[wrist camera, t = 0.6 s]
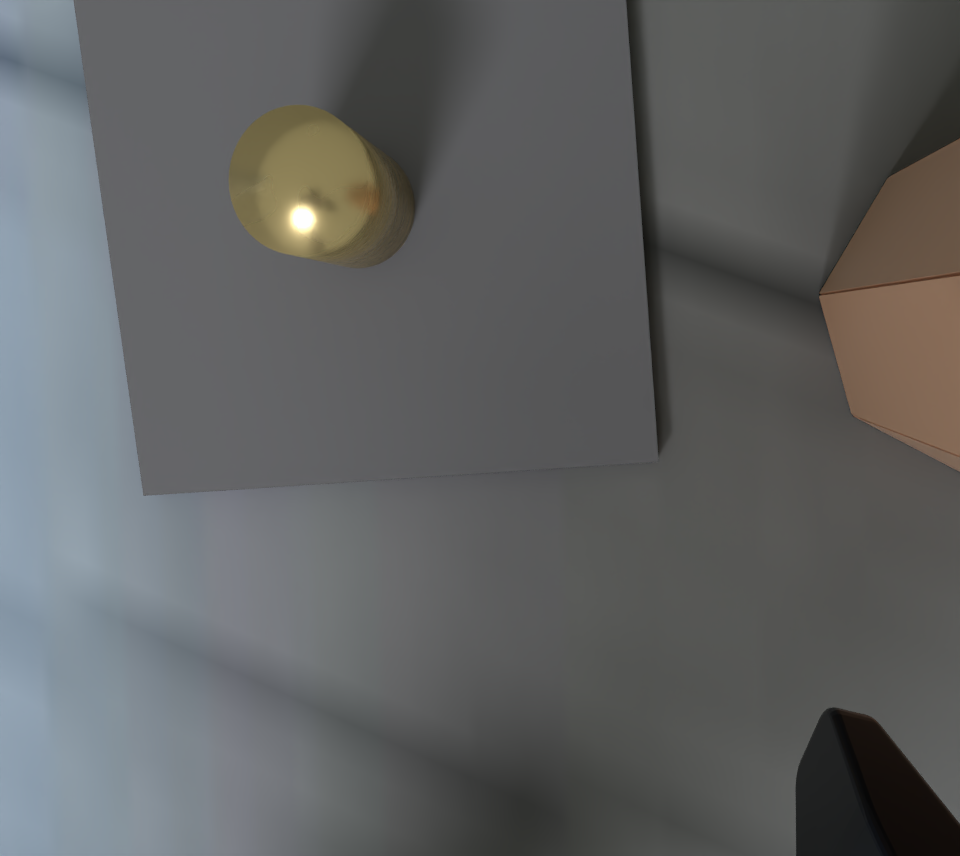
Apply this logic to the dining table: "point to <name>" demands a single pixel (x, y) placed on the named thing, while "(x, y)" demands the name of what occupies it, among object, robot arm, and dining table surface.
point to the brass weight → (319, 189)
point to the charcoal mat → (400, 279)
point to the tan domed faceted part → (904, 308)
